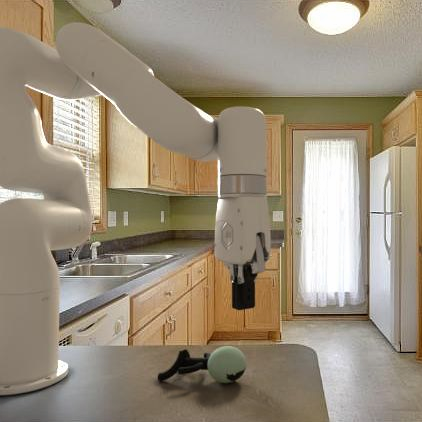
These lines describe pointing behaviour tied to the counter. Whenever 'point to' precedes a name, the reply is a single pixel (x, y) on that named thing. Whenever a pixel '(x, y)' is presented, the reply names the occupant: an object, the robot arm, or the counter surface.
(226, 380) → the toy
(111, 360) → the counter surface
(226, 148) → the robot arm
